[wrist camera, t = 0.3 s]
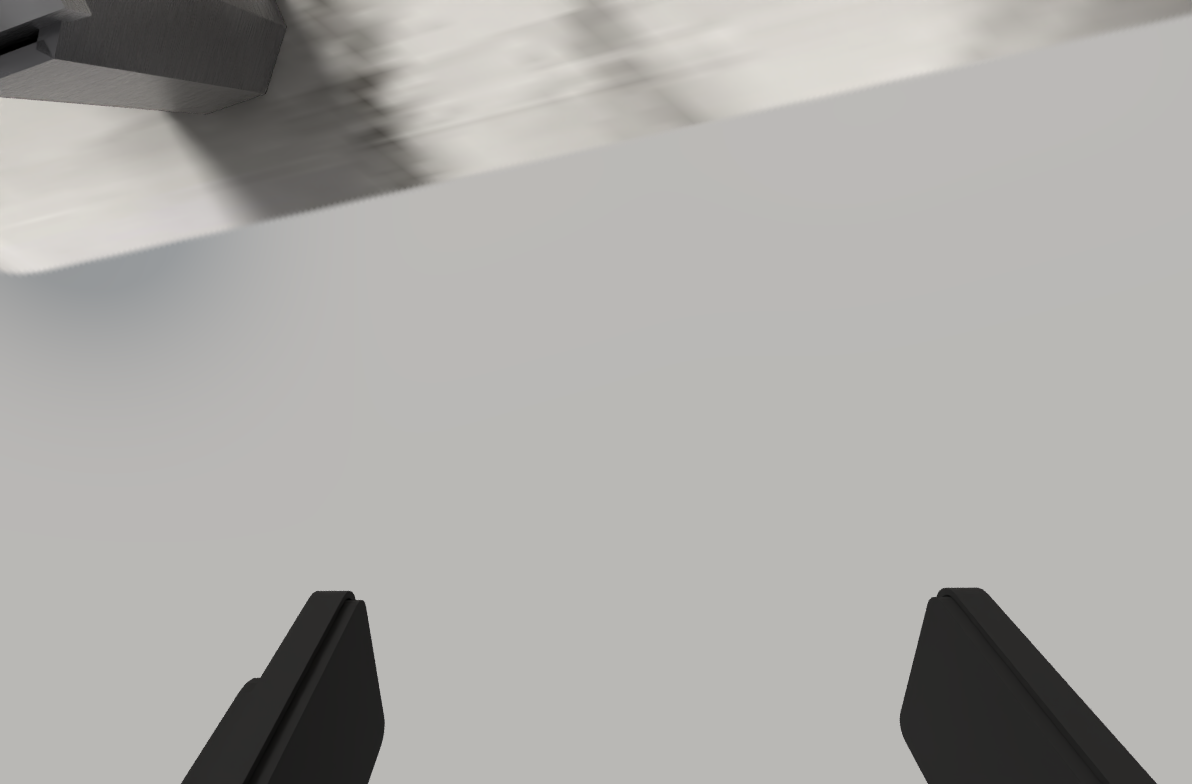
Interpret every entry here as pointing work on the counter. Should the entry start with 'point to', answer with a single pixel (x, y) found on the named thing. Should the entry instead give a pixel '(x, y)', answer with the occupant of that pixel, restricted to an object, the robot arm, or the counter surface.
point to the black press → (139, 52)
